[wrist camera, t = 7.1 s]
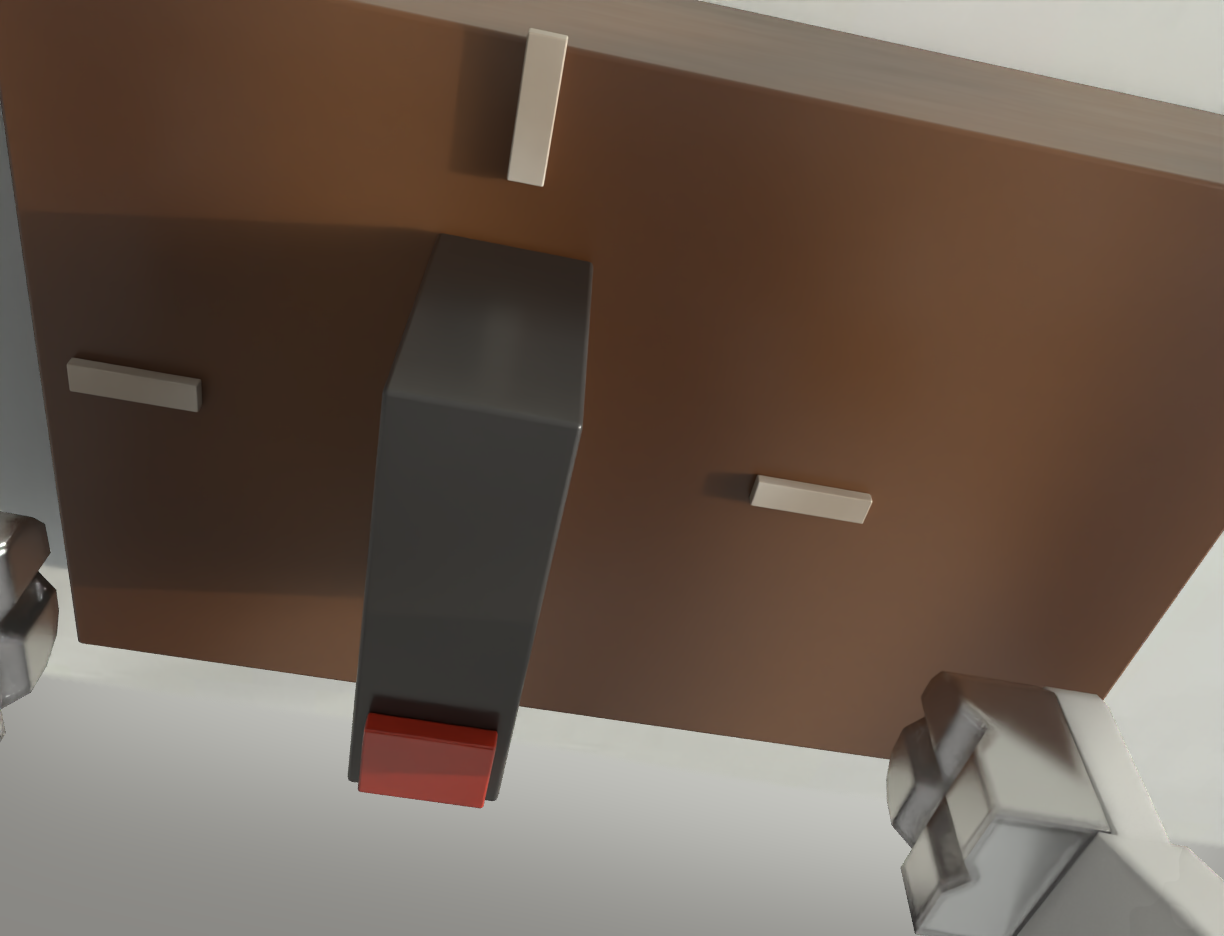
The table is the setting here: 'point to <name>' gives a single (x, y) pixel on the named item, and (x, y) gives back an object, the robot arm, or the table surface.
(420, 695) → the black rectangular block
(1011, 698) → the robot arm
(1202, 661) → the table surface
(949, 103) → the dial panel
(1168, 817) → the table surface
